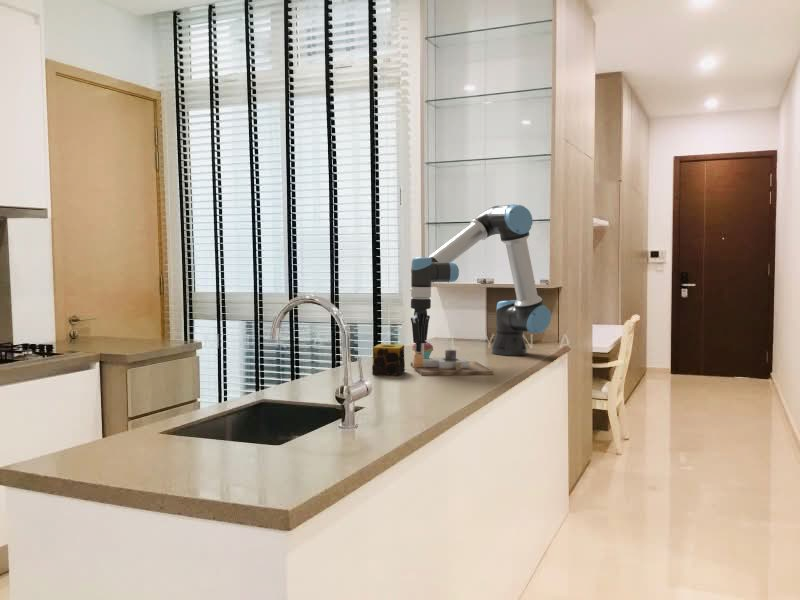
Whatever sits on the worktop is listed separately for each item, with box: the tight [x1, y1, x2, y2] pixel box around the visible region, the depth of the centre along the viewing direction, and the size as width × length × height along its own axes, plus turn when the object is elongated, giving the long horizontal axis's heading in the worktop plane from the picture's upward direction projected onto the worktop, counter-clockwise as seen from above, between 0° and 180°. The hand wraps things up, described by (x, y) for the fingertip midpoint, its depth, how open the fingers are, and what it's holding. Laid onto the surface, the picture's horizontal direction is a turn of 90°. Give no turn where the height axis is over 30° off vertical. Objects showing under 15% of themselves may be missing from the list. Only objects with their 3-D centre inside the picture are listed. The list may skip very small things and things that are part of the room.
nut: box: [412, 352, 470, 369], centre depth 269 cm, size 20×11×5 cm, turn 100°
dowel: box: [456, 362, 462, 371], centre depth 261 cm, size 2×2×3 cm
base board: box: [410, 349, 494, 376], centre depth 269 cm, size 26×22×7 cm
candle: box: [371, 343, 406, 377], centre depth 260 cm, size 10×10×10 cm
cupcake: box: [411, 342, 434, 359], centre depth 295 cm, size 9×8×12 cm
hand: (419, 360), depth 275 cm, fingers closed
